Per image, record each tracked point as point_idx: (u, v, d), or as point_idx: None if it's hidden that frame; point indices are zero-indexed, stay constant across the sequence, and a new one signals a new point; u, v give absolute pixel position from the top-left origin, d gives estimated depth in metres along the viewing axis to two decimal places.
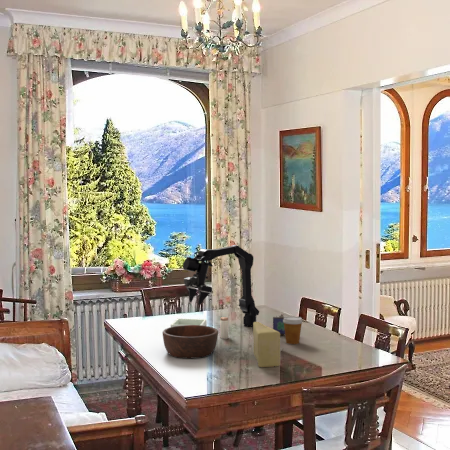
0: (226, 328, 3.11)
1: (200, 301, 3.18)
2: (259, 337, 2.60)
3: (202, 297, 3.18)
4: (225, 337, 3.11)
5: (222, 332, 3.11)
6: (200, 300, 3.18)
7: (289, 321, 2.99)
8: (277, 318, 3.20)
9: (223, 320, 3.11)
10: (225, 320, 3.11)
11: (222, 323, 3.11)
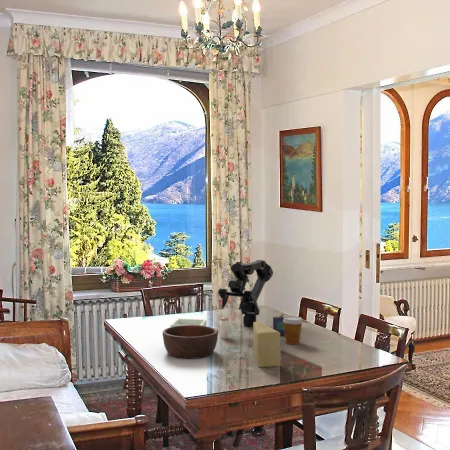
0: (226, 328, 3.11)
1: (241, 306, 3.18)
2: (259, 337, 2.60)
3: (243, 303, 3.19)
4: (225, 337, 3.11)
5: (222, 332, 3.11)
6: (241, 305, 3.18)
7: (289, 321, 2.99)
8: (277, 318, 3.20)
9: (223, 320, 3.11)
10: (225, 320, 3.11)
11: (222, 323, 3.11)
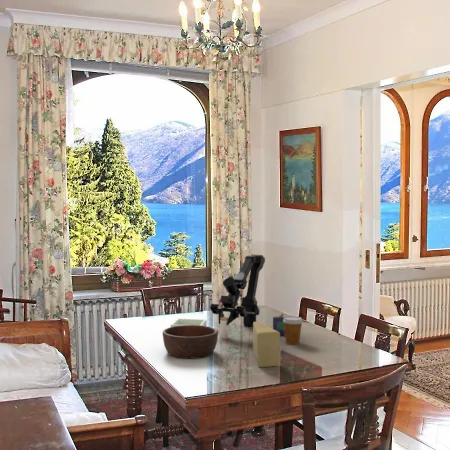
0: (226, 328, 3.11)
1: (229, 321, 3.11)
2: (259, 337, 2.61)
3: (231, 318, 3.12)
4: (225, 337, 3.11)
5: (222, 332, 3.11)
6: (229, 320, 3.11)
7: (289, 321, 2.99)
8: (277, 318, 3.20)
9: (223, 320, 3.11)
10: (225, 320, 3.11)
11: (222, 323, 3.11)
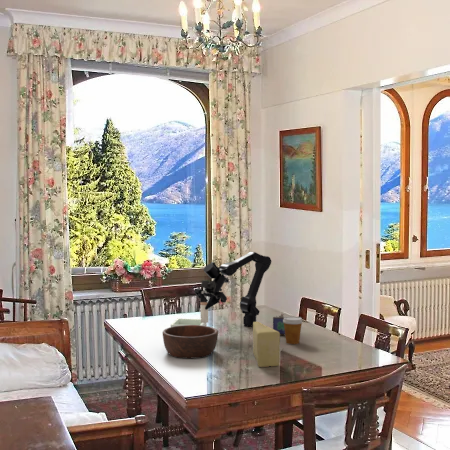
0: (205, 312, 3.18)
1: (208, 306, 3.18)
2: (259, 337, 2.61)
3: (211, 303, 3.19)
4: (204, 321, 3.18)
5: (201, 316, 3.19)
6: (208, 305, 3.18)
7: (289, 321, 2.99)
8: (277, 318, 3.20)
9: (202, 304, 3.18)
10: (204, 305, 3.18)
11: (201, 307, 3.18)
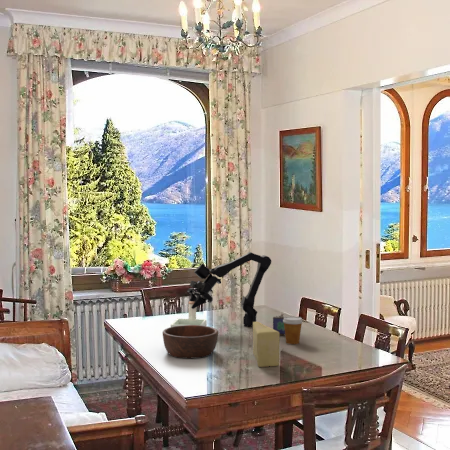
0: (192, 311, 3.30)
1: (194, 305, 3.29)
2: (258, 337, 2.61)
3: (198, 303, 3.29)
4: (191, 320, 3.30)
5: (189, 315, 3.31)
6: (195, 304, 3.29)
7: (289, 321, 2.99)
8: (277, 318, 3.20)
9: (189, 303, 3.30)
10: (191, 304, 3.29)
11: (188, 306, 3.30)
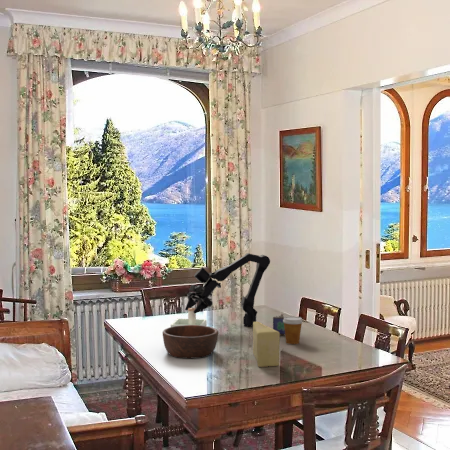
0: (191, 318, 3.30)
1: (196, 310, 3.27)
2: (258, 337, 2.61)
3: (200, 307, 3.27)
4: None
5: (188, 322, 3.31)
6: (197, 309, 3.27)
7: (289, 321, 2.99)
8: (277, 318, 3.20)
9: (189, 310, 3.30)
10: (190, 311, 3.29)
11: (188, 313, 3.30)
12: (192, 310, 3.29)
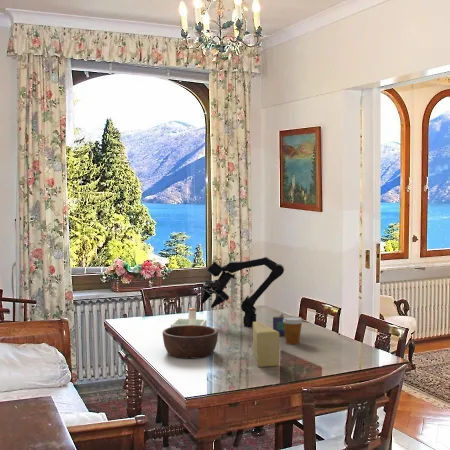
0: (192, 318, 3.30)
1: (213, 305, 3.33)
2: (258, 337, 2.61)
3: (217, 302, 3.33)
4: None
5: (189, 321, 3.31)
6: (214, 304, 3.33)
7: (289, 321, 2.99)
8: (277, 318, 3.20)
9: (189, 310, 3.30)
10: (191, 310, 3.30)
11: None
12: (192, 310, 3.30)
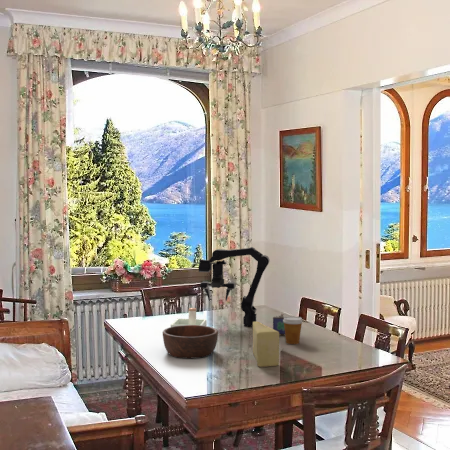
0: (192, 318, 3.30)
1: None
2: (258, 337, 2.61)
3: (228, 293, 3.42)
4: None
5: (189, 321, 3.31)
6: (227, 297, 3.42)
7: (289, 321, 2.99)
8: (277, 318, 3.20)
9: (189, 310, 3.30)
10: (191, 310, 3.29)
11: (189, 313, 3.31)
12: (193, 310, 3.29)
